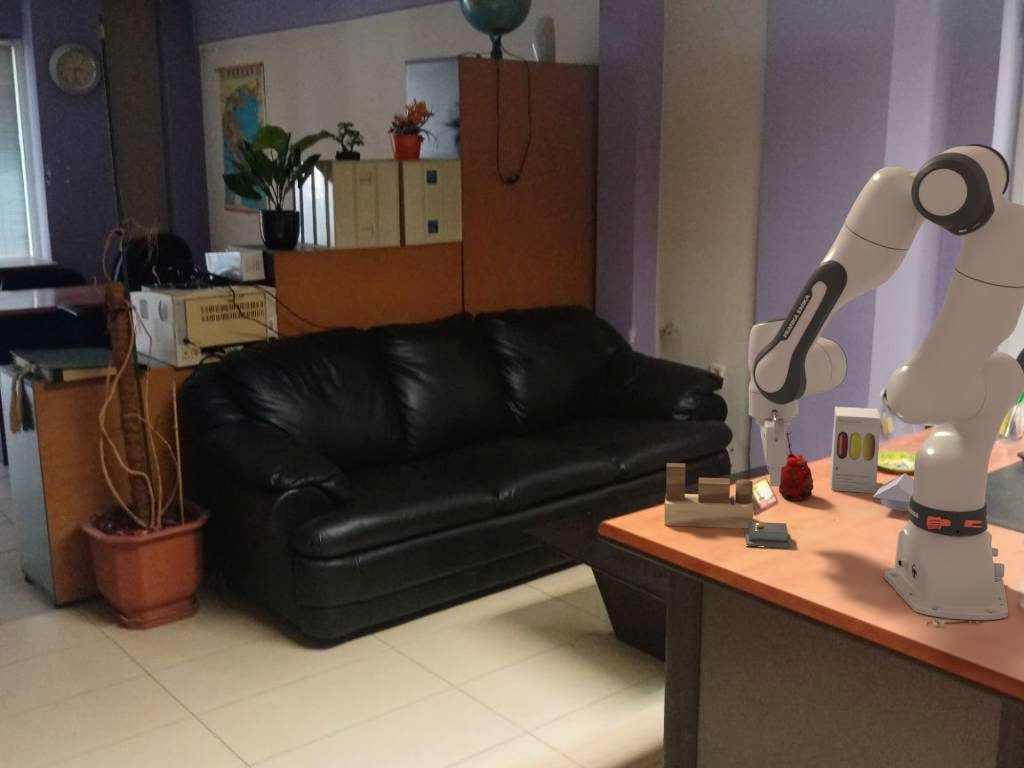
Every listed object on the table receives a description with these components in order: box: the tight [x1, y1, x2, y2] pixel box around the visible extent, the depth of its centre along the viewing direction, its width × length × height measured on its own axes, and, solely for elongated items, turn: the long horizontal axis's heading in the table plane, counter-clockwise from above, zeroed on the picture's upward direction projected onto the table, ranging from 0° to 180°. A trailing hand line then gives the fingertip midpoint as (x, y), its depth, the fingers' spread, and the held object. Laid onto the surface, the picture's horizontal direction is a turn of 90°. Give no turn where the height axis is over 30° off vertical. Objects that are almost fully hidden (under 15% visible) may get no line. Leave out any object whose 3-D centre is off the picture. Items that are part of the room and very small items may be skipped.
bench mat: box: [744, 529, 792, 549], centre depth 193 cm, size 8×8×1 cm
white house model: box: [872, 472, 914, 512], centre depth 209 cm, size 9×7×13 cm
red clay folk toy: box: [778, 430, 814, 502], centre depth 216 cm, size 8×7×15 cm
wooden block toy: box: [664, 462, 754, 529], centre depth 203 cm, size 6×17×12 cm, turn 79°
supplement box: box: [829, 406, 881, 494], centre depth 222 cm, size 10×9×17 cm
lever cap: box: [748, 521, 789, 543], centre depth 193 cm, size 5×7×3 cm
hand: (773, 478), depth 190 cm, fingers open, 8 cm apart
